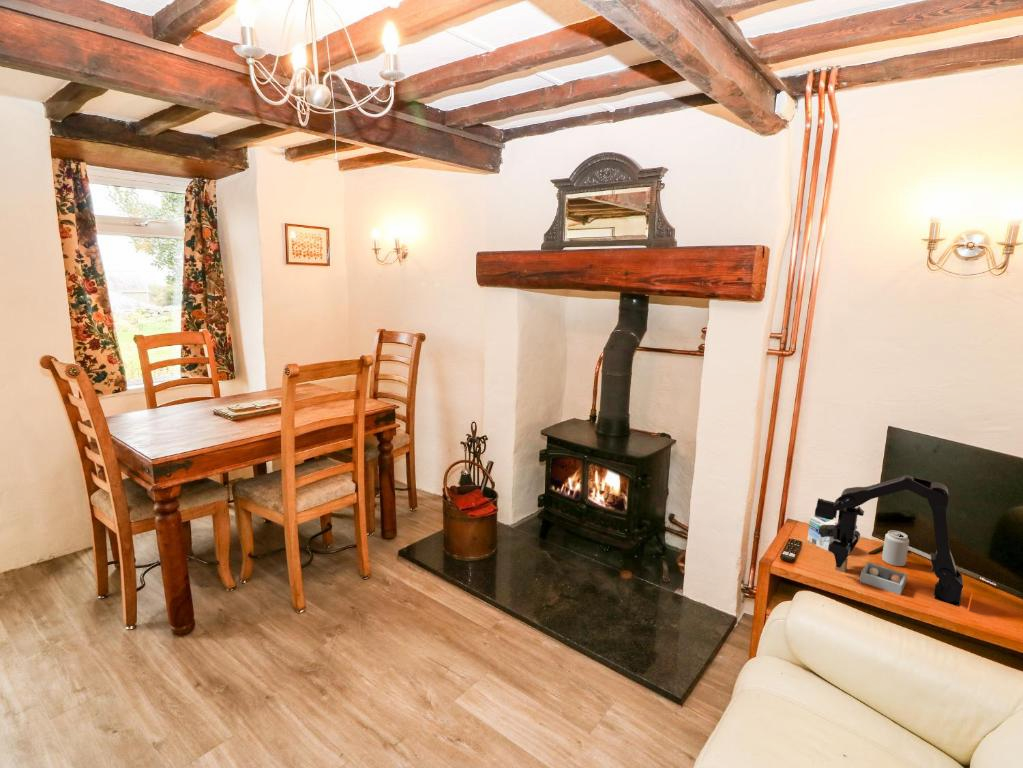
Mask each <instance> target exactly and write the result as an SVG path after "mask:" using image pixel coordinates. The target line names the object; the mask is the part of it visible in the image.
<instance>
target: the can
mask: <svg viewBox="0 0 1023 768" xmlns="http://www.w3.org/2000/svg"><path fill="white" fill-rule="evenodd" d="M884 535H885V536H884V540H883V541H884V543H883V546H882V547H883V549H882V554H881V559H882V561H883V562H884V563H887V565H891V566H894V567H904V566H906V564H907V556H908V550H909V545H910V539H909V538H908V536H909V535H907V534H906V533H905V532H902V531H900V530H894V529H892V530H888V531H887V533H885V534H884ZM900 535H901V537H899V536H900ZM902 536H903V537H902Z"/></svg>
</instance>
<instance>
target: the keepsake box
mask: <svg viewBox="0 0 1023 768" xmlns="http://www.w3.org/2000/svg"><path fill="white" fill-rule="evenodd" d="M870 568H876V569H877V570H878V571H879V575H878V576H874V575H870V573H869V570H870ZM882 571H886V572H888V573H889V575H890V578H889V579H888V580H886V579H883V578H881V577H880V572H882ZM892 575H898V576H899V577H900V578H901V581H900V583H895V582H892V581H891V576H892ZM907 577H908V574H907V573H905V572H901V571H898V570H894V569H892V568H889V567H885V566H882V565H878V564H877V563H876V564H875V563H872V562H870V561H866V564H865V565H864V566H863V568H862V569H861V572H860V576H859V582H860V583H863V584H865V585H868V586H872V587H875V588H877V589H881V590H884V591H886V592H890V593H893V594H895V595H896V594H897V595H899V596H901V595H902V592H903V590H904V588H905V586H906V583H907Z"/></svg>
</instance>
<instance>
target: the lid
mask: <svg viewBox="0 0 1023 768" xmlns="http://www.w3.org/2000/svg"><path fill="white" fill-rule="evenodd" d="M848 561H849V559H848V557H847V558H846V560H845V561H844V563H843V564H842V566H841V567H840V568H839V567H837V566H836V565H835V567H834V570H836V571H839V572H841V573H845V572H846V571H847V568H848Z"/></svg>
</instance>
